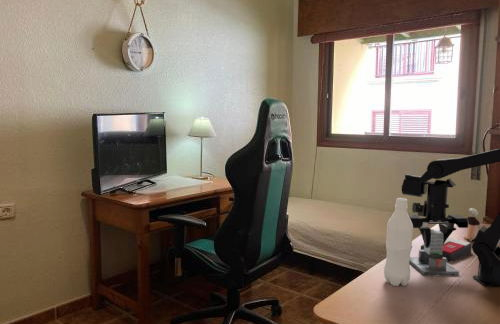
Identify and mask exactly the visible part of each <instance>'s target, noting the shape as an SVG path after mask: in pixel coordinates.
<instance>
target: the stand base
mask: <svg viewBox="0 0 500 324" xmlns="http://www.w3.org/2000/svg"><path fill="white" fill-rule="evenodd" d="M409 264H410V266H412V267H413V268H414V269H416V271H418V272H419V273H420V274H421V275H422V276H460V271H459V270H458V269H456V268H455V267H453V266H452V265H451V264H449V263H448V261H447V259H446V258H445V257H443V256H442V255H429V254H428V253H426V252H425V251H424V250H421V249H419V250H418V256H415V257H412V256H410V260H409Z"/></svg>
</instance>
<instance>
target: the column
mask: <svg viewBox="0 0 500 324" xmlns="http://www.w3.org/2000/svg"><path fill="white" fill-rule="evenodd" d="M430 229H431V228H430ZM443 237H444V233H443V232H441V231H440V229H431V233H430V240H429V246H428V248H426V247H425V244H424V243H423V244H424V251H425V252H426V253H428V254H429V255H442V250H443Z"/></svg>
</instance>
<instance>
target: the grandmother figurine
mask: <svg viewBox="0 0 500 324" xmlns="http://www.w3.org/2000/svg"><path fill="white" fill-rule="evenodd" d="M468 211H469V212H468V217H466V218H467V220H468V222H469V224H468V228H466V229H467V230H466V235H465V236H463V240H468V241H469V242H473V241H472V239H473V238H474V237H475V236H476V234H477V233H476V230H477V229H478V230H479V229H480V228H481V227H482V226H481V223H480V221H479V220H478V219H477V218H476V216H477V215H479V212H478V209H476V208H474V207H470V208H469V209H468Z"/></svg>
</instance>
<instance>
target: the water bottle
mask: <svg viewBox="0 0 500 324" xmlns="http://www.w3.org/2000/svg"><path fill="white" fill-rule="evenodd" d="M394 208H395V209H394V212H393V213H392V214H391V217H389V219H388V221H387V224H386V241H385V247H386V257H385V258H386V259H385V263H384V264H385V265H384V268H383V275H384V276H383V277H384V279H385V283H388V284H391V286H393V287H398V286H400V285H401V286H402V287H405V286H407V285H408V283H409V282H410V279H411V264H410V263H409V260H410V257H411V252H412V248H413V232H414V228H413V224H412V222H411V219H410V217H409V215H410V214H409V213H408V208H409V206H408V199H407V198H405V197H397V198H396V200H395V205H394Z"/></svg>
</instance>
